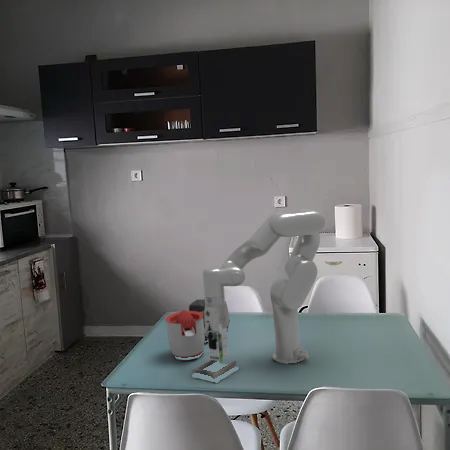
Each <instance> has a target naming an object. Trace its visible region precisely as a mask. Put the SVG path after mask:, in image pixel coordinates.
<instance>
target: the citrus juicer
mask: <svg viewBox="0 0 450 450" xmlns="http://www.w3.org/2000/svg"><path fill="white" fill-rule="evenodd" d="M203 316H204V315H203V314H202V313H201V312H197V311H189V310H187V309H182V310H181V311H178V312H174V313H172V314H168V316H166V317H165V321H166V329H167V338H168V339H167V340H168V346H169V348H170V351H171V354H172V356H173V355H174V356H176V357H181V358H188V357H195V356H198V355H200V354H201V353H202V352H203V353H204V349H205V344H204V343H205V335H204V334H203V331H204V322H203ZM203 353H202V354H203ZM174 356H173V357H174Z"/></svg>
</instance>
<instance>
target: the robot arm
mask: <svg viewBox="0 0 450 450" xmlns="http://www.w3.org/2000/svg"><path fill="white" fill-rule="evenodd" d="M325 226H326V219H325V216H324V214H322V213H321V212H320V211H317V210H313V209H308V208H300V209H298V210H297V211H296V212H295V213H284V212H281V211H277V212H276V211H275V212H273V213H271V214H269V216H268V217H267V218H266V219H265V220H264V221H263V222H262V223H261V224H260V226H259V227H258V228H257V229H256V230H255V231H254V233H253V234H252V235H251V236H250V237H249V238H248V239H247V240H246V241H245V242H243V243H242V244H241V245H239V246H238V247H237V248H236V249H234V251H232V252H231V253H230V255H228V257H227V258H226V260H224V261H223V263H222V264H221V265H220V267H219V266H208V267H205V268H204V269H203V270H202V282H203V283H202V284H203V293H204V294H203V295H204V300H205V313H204V320H205V329H204V331H203V334H204V335H205V336H206V337H207V339H208V341H209V345H208V349H209V348H210V349H214V350H216V349H217V347H216V339H215V333H216V332H218V331H219V324H221V325H222V329H224V328H226V327H227V333H228V330H229V325H230V324H231V323H230V322H231V319H230V314H229V309H228V308H229V307H228V304H227V301H226V300H225V299H226V297H225V295H226V294H225V287H238V286H240V285H242V284H243V283H244V282H245V280H246V279H245V278H246V274H245V271H244V270H243V269H244V268H245V267H246V266H247V264H249V263H250V262H251V261H253V260H254V259H256V258H260V257H263V256H264V255H266V254H267V253H268V252H269V251H270V250H271V248H272V247H273V246H274V245H275V244H276V243H277V242H278V241H279V239H280V238H281V237H283V238H290V237H293V238H294V237H297V240H296V243H295V246H294V247H293V249H292V251H291V253H290V255H289V257H288V258H287V260H286V262H285V266H284V271H285V273H286V275H288V277H289V278H288V279H286V278H279V279H276V280H275V281H274V282H273V283H272V284H271V286H270V290H269V291H270V292H269V293H270V295H269V296H270V302H271V307H272V312H273V313H272V316H273V327H274V328H273V330H274V340H275V341H274V345H275V352H273V353H272V357H271V359H272V361H274V360H275V361H277V362H280V363H279V364H281V363H294V364H297V362H298V363H300V361H301V362H303V360H305V359H309V357H310V355H309V353H310V351H308V350H304V348H303V347H304V346H301V344H300V343H301V342H300V328H299V326H300V325H299V312H298V309H299V308H301V307H302V305H304V302H306V299H307V297H308V296H309V294H310V292H311V290H312V288H313V286H314V284H315V282H316V280H317V276H318V268H317V267H318V266H317V265H316V263H315V262H314V259H315V256H316V254H317V252H318V249H319V247H320V243H321V235H320V234H321V232H322V231H323V229H324V228H325ZM210 329H211V330H212V331H211V330H210ZM211 332H213V333H212V335H211ZM275 361H274V362H275ZM277 362H276V363H277Z"/></svg>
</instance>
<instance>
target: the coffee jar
mask: <svg viewBox="0 0 450 450" xmlns="http://www.w3.org/2000/svg"><path fill="white" fill-rule="evenodd" d="M188 311H197V312H201V313H202V314H203V315H204V313H205V299H195V300H194V301H192V302H191V303H190V304H189V306H188ZM203 322H204V329H205V320H204V316H203ZM207 340H208V339H207V337H206V336H205V341H207Z"/></svg>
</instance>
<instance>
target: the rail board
mask: <svg viewBox="0 0 450 450" xmlns="http://www.w3.org/2000/svg"><path fill="white" fill-rule="evenodd" d="M215 362H217V361H215V360H210V359H209V360H208V361H206V362H205V363H203V364H201V365H200V366H197V367H196V368H194V369H193V370H192V374H193V373H200V374H204V375H208V376H211V377H212V378H213V379H215V378H217V377H218V376H220V375H222V374H224V373H225V372H227V371H229V370H230V369H232V368H234V367H235V366H238V365H237V361H236V360H232V361H231V362H230V363H227V364H228V365H227V366H225V367H223V368H222V369H220V370H219V371H217V372H211V371H207V370H203V369H204V368H206V367H208V366H210V365H212V364H213V363H215Z"/></svg>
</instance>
